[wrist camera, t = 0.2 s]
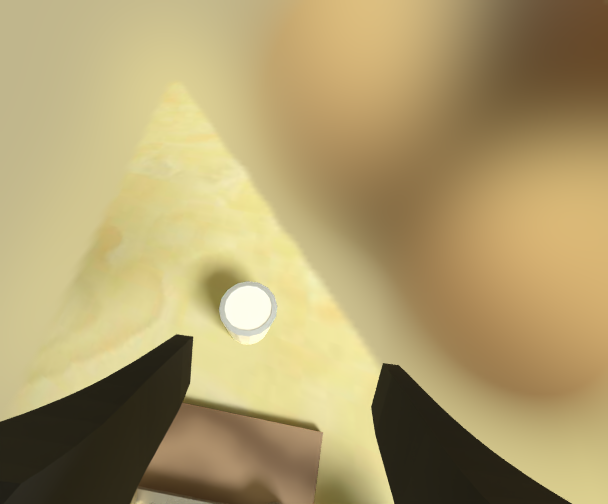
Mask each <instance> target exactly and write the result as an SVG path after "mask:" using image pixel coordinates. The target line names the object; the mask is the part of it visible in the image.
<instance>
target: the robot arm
mask: <svg viewBox="0 0 608 504" xmlns="http://www.w3.org/2000/svg"><path fill="white" fill-rule="evenodd" d="M192 346H193V337H191V336H184V335H175V336H173V337H172V338H170V339H169V340H167V341H165V342H164V343H162V344H161V345H159V346H158V347H156V348H155V349H153V350H152V351H150V352H148V353H147V354H145V355H144V356H142V357H141V358H139V359H137V360H136V361H134V362H132V363H131V364H129V365H127V366H125V367H124V368H122V369H120V370H118V371H117V372H115V373H113V374H111V375H110V376H108V377H106V378H104V379H102V380H100V381H98V382H96V383H94V384H93V385H91V386H88V387H86V388H84V389H82V390H80V391H78V392H76V393H74V394H71V395H69V396H67V397H65V398H62V399H60V400H57V401H55V402H52V403H50V404H47V405H45V406H42V407H40V408H37V409H35V410H32V411H30V412H27V413H24V414H21V415H19V416H16V417H13V418H10V419H7V420H4V421H1V422H0V504H130V503H131V501H132V499H133V496H134V494H135V492H136V490H137V487H138V485H139V483H140V481H141V479H142V477H143V475H144V473H145V471H146V469H147V468H148V466H149V464H150V462H151V460H152V458H153V457H154V455H155V453H156V451H157V449H158V448H159V446H160V444H161V442H162V440H163V439H164V437H165V435H166V433H167V431H168V429H169V428H170V426H171V424H172V422H173V420H174V418H175V417H176V415H177V413H178V411H179V409H180V407H181V404H182V402H183V399H184V397H185V395H186V392H187V389H188V387H189V384H190V376H191V361H192ZM371 408H372V416H373V423H374V429H375V435H376V439H377V442H378V446H379V450H380V453H381V457H382V460H383V464H384V468H385V471H386V475H387V478H388V482H389V485H390V489H391V492H392V496H393V500H394V504H572V503H570V502H568V501H567V500H565V499H563V498H562V497H560V496H558V495H557V494H555V493H553V492H552V491H550V490H548V489H547V488H545V487H544V486H542V485H540V484H539V483H537V482H536V481H534V480H533V479H531V478H530V477H528V476H527V475H525V474H524V473H522V472H521V471H520V470H518V469H517V468H515V467H514V466H512V465H511V464H509V463H508V462H507V461H505V460H504V459H502V458H501V457H500V456H498V455H497V454H496V453H494V452H493V451H492V450H490V449H489V448H488V447H487V446H485V445H484V444H482V442H480V441H479V440H478V439H476V438H475V437H474V436H473V435H472V434H470V433H469V432H468V431H467V430H466V429H464V428H463V427H462V426H461V425H460V424H459V423H458V422H456V421H455V420H454V419H453V418H452V417H451V416H450V415H449V414H448V413H447V412H446V411H444V410H443V409H442V408H441V407H440V406H439V405H438V404H437V403H436V402H435V401H434V400H433V399H432V398H431V397H430V396H429V395H428V394H427V393H426V392H425V391H424V390H423V389H422V388H421V387H420V386H419V385H418V384H417V383H416V382H415V381H414V380H413V379H412V378H411V377H410V376H409V375H408V374H407V373H406V372H405V371H404V370H403V369H402V368H401V367H400V366H399V365H393V364H385V363H383V365H382V369H381V373H380V376H379V380H378V384H377V388H376V391H375V395H374V399H373V402H372V406H371Z"/></svg>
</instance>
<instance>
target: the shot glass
mask: <svg viewBox="0 0 608 504" xmlns="http://www.w3.org/2000/svg"><path fill="white" fill-rule="evenodd" d="M219 312H220V317H221V321H222V322H223V324H224V326H225V327H226V329H227V330H228V332H229V334H230V335H231V336H232V338H233V339H234V340H235V341H237V342H239V343H241V344H247V345H250V344H254V343H257V342H259V341H260V340H261V339H262V338H264V336H265V335H266V333H267V331H268V330H269V328H270V326H271V324H272V323H273V321H274V319H275V317H276V313H277V303H276V300H275V296H274V295H273V293H272V292H271V291H270V290H269V289H268V288H267V287H266V286H264V285H262V284H260V283H257V282H250V281H247V282H242V283H238V284H236V285H234V286H233V287H231V288H230V289H228V290H227V291H226V293H225V294H224V296H223V297H222V298H221V302H220V307H219Z"/></svg>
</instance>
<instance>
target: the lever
mask: <svg viewBox="0 0 608 504" xmlns="http://www.w3.org/2000/svg"><path fill="white" fill-rule="evenodd" d="M130 504H225V503H220V502H215V501H210V500H205V499H200V498H195V497H190V496H185V495H180V494H175V493H170V492H165V491H160V490H155V489H150V488H145V487H140V486H138V487H137V490H136V492H135V494H134V496H133V499H132V501H131V503H130ZM267 504H281V503H279V502H270V503H267Z"/></svg>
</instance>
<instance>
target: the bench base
mask: <svg viewBox="0 0 608 504" xmlns="http://www.w3.org/2000/svg"><path fill="white" fill-rule="evenodd" d="M322 436H323V432H319V431H314V430H309V429H305V428H300V427H295V426H291V425H286V424H281V423H276V422H272V421H267V420H262V419H257V418H253V417H248V416H243V415H239V414H234V413H229V412H224V411H220V410H215V409H210V408H206V407H201V406H196V405H191V404H187V403H182V404H181V407H180V409H179V411H178V413H177V415H176V417H175V418H174V420H173V422H172V424H171V426H170V428H169V429H168V431H167V433H166V435H165V437H164V439H163V440H162V442H161V444H160V446H159V448H158V449H157V451H156V453H155V455H154V457H153V458H152V460H151V462H150V464H149V466H148V468H147V469H146V471H145V473H144V475H143V477H142V479H141V481H140V483H139V485H138V486H140V487H145V488H150V489H155V490H160V491H165V492H170V493H175V494H180V495H185V496H190V497H195V498H200V499H205V500H210V501H215V502H220V503H225V504H267V503H270V502H279V503H281V504H314V498H315V490H316V482H317V474H318V467H319V459H320V451H321V443H322Z"/></svg>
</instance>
